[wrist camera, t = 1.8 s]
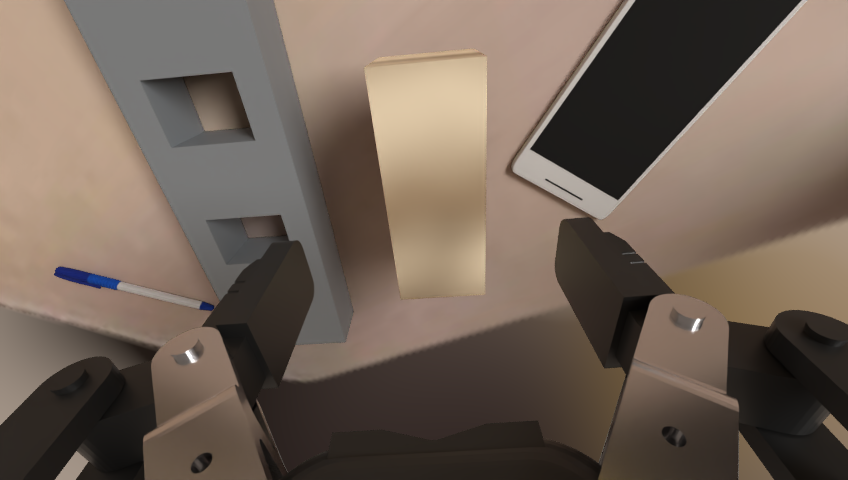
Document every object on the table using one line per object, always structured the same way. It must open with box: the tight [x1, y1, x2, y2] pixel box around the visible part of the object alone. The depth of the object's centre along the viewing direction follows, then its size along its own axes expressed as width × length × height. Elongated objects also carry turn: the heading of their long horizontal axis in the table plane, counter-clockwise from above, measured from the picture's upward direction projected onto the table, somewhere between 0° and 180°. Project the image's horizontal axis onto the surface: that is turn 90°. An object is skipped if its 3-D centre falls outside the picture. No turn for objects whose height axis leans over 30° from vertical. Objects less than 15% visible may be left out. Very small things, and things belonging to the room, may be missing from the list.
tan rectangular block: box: [364, 49, 487, 300], centre depth 17 cm, size 10×4×7 cm, turn 5°
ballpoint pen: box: [54, 267, 214, 311], centre depth 25 cm, size 10×1×1 cm, turn 72°
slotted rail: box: [64, 0, 354, 345], centre depth 19 cm, size 24×7×3 cm, turn 5°
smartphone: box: [511, 0, 807, 220], centre depth 18 cm, size 7×16×1 cm, turn 152°
